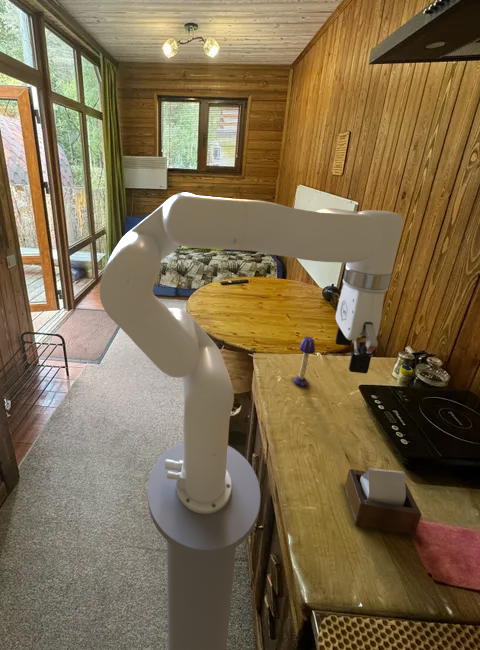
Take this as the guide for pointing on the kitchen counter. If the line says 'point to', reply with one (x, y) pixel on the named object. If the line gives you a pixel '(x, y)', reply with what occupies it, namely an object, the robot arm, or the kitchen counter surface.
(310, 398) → the kitchen counter surface
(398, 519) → the box
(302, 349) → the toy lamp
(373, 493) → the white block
